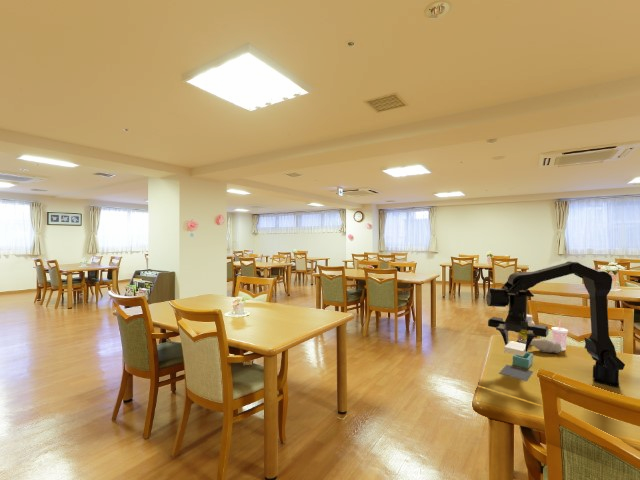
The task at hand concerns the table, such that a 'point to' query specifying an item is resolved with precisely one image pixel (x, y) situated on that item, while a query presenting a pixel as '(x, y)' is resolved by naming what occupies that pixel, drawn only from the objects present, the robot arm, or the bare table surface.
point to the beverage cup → (560, 335)
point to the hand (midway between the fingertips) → (516, 349)
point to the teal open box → (523, 360)
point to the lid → (515, 348)
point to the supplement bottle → (524, 333)
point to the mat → (516, 372)
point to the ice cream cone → (546, 345)
